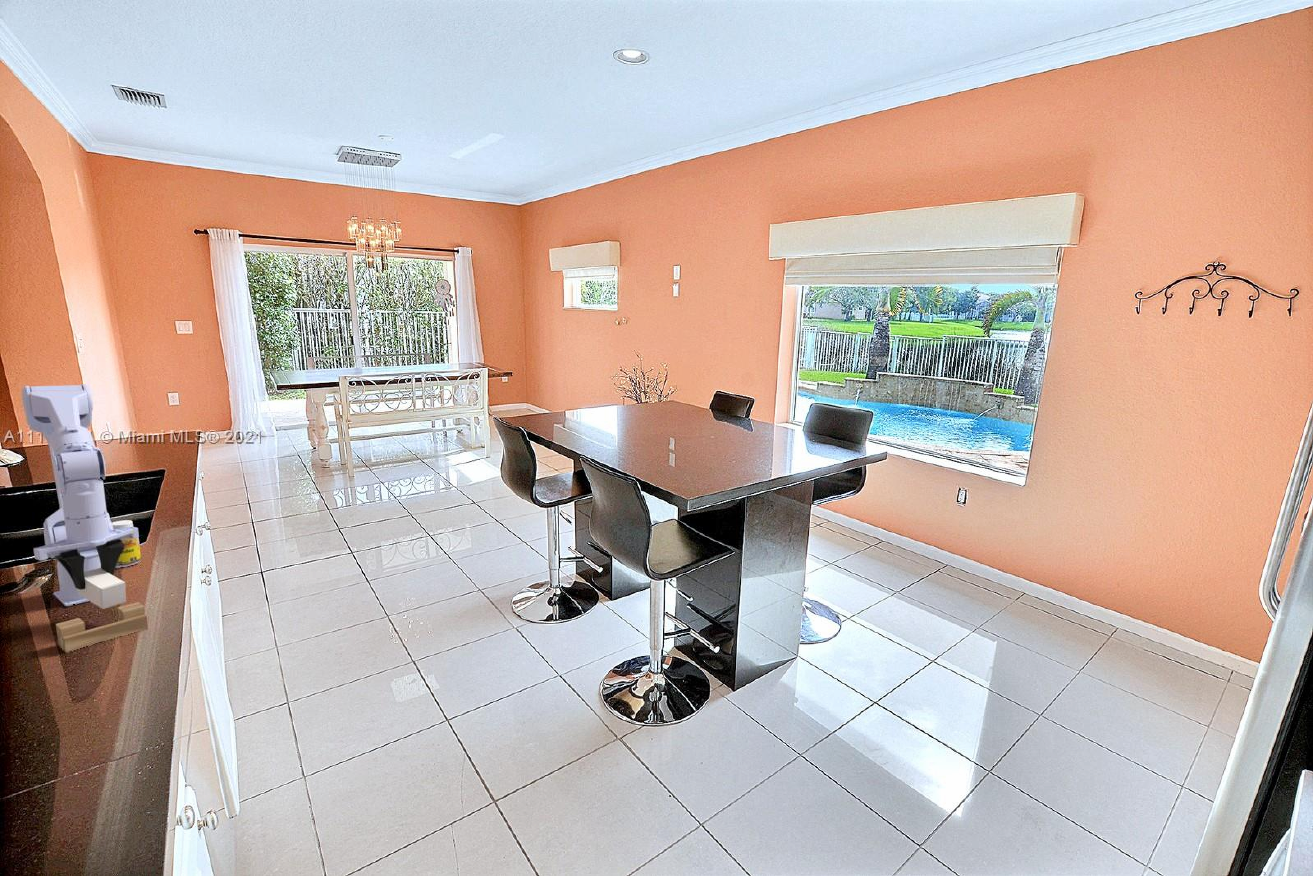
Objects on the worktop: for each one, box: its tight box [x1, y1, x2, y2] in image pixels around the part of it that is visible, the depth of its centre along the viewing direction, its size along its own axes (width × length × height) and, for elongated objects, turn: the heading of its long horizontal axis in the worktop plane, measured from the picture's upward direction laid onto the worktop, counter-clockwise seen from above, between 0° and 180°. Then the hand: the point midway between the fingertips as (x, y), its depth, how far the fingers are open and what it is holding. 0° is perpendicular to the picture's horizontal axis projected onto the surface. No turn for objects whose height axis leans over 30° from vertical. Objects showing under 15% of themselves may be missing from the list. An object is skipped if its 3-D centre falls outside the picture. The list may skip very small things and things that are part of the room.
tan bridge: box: [55, 602, 149, 654], centre depth 107 cm, size 4×11×4 cm, turn 146°
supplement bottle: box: [112, 519, 142, 569], centre depth 138 cm, size 6×6×10 cm
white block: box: [77, 568, 127, 610], centre depth 111 cm, size 9×4×4 cm, turn 66°
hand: (94, 584), depth 112 cm, fingers closed on white block, 3 cm apart
